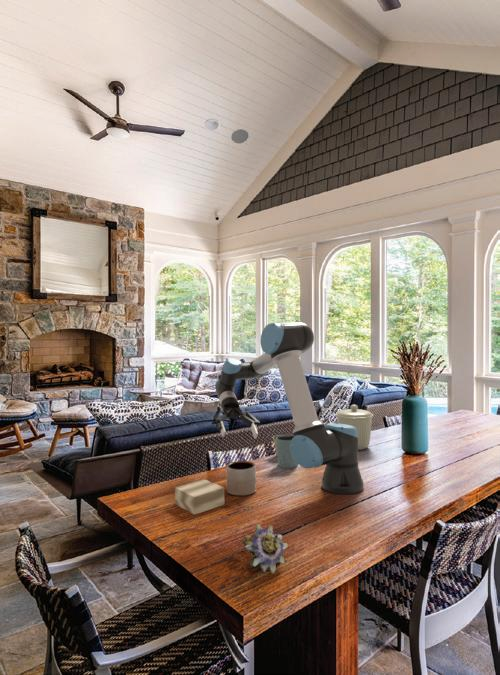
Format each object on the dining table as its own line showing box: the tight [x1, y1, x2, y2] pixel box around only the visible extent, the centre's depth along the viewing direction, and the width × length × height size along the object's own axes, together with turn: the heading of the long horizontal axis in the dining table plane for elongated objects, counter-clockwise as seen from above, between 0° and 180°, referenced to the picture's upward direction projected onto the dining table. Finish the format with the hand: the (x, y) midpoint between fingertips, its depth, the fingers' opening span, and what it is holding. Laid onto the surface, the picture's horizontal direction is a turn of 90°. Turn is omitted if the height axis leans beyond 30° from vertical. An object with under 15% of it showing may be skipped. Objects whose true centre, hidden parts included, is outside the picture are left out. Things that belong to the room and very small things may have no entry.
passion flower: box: [241, 523, 289, 575], centre depth 111 cm, size 11×11×12 cm
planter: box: [225, 460, 258, 497], centre depth 162 cm, size 11×11×10 cm
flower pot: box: [272, 434, 283, 457], centre depth 206 cm, size 9×9×9 cm
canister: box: [335, 404, 374, 451], centre depth 217 cm, size 18×18×21 cm
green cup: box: [276, 434, 299, 469], centre depth 192 cm, size 10×10×12 cm
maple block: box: [174, 478, 225, 516], centre depth 151 cm, size 12×12×6 cm
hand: (240, 435), depth 175 cm, fingers open, 13 cm apart
